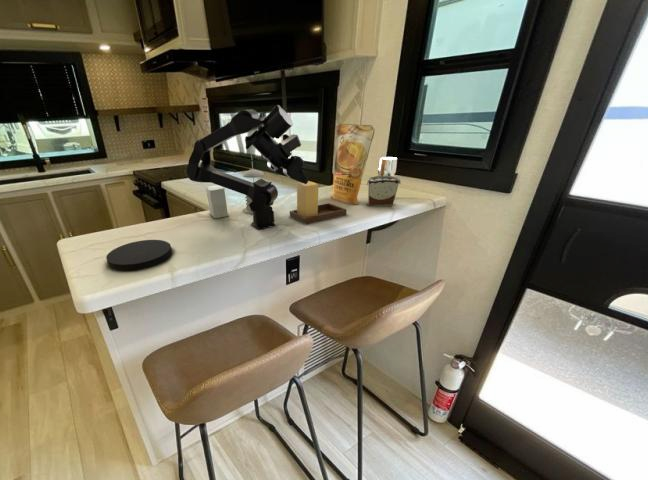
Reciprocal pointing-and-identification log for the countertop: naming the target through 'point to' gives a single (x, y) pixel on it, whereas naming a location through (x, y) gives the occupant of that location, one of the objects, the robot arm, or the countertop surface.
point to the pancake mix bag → (350, 160)
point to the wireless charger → (139, 255)
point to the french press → (253, 174)
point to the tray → (320, 213)
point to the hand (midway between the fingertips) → (300, 180)
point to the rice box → (307, 199)
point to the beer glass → (387, 166)
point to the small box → (217, 201)
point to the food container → (382, 190)
